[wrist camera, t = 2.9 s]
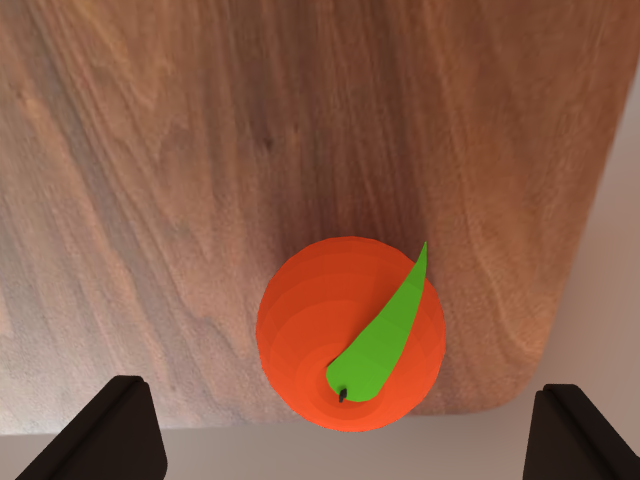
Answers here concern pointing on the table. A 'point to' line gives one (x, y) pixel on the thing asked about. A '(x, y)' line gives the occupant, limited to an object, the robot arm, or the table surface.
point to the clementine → (351, 333)
